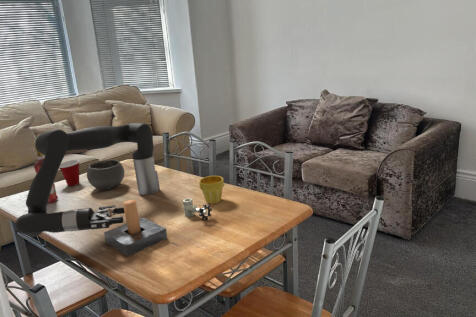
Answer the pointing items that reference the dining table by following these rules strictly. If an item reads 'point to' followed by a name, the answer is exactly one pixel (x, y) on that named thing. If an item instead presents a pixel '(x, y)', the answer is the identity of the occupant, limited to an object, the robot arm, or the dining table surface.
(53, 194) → the sauce bottle
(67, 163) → the plastic cup
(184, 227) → the dining table surface
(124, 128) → the robot arm
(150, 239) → the socket block
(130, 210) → the peg
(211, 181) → the plant pot
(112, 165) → the bowl
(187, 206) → the valve
